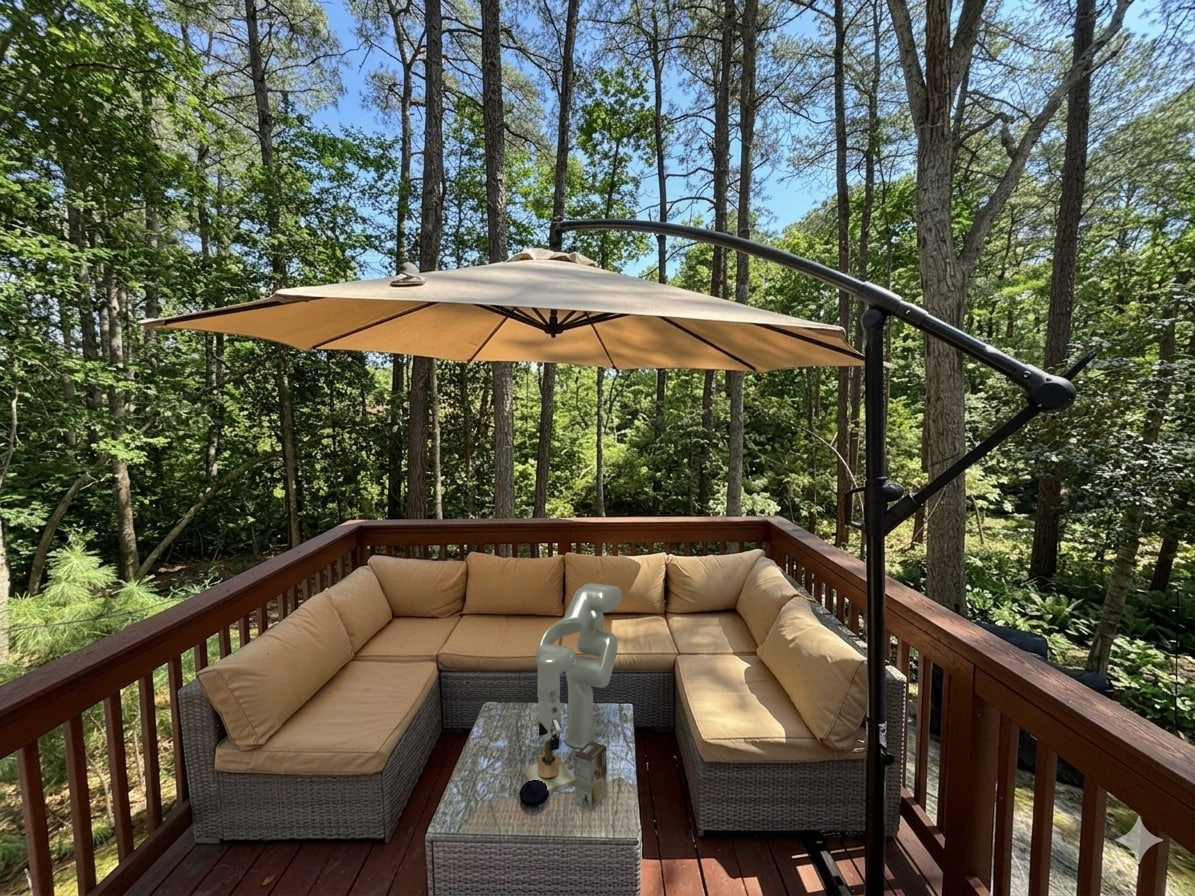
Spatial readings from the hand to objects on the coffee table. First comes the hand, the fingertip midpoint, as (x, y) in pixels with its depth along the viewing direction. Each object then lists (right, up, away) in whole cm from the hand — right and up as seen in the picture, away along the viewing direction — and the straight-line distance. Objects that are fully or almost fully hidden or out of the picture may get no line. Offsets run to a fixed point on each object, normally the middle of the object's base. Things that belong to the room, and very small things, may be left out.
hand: (548, 742), depth 176 cm
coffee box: (+15, -13, -9) cm, 22 cm away
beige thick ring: (0, -10, 0) cm, 10 cm away
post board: (0, -13, 0) cm, 13 cm away
